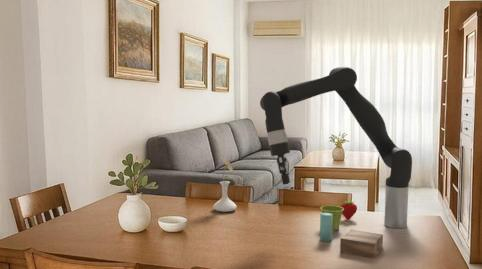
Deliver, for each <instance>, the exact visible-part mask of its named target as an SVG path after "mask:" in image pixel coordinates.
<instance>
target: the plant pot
mask: <svg viewBox="0 0 482 269" xmlns="http://www.w3.org/2000/svg"><path fill="white" fill-rule="evenodd" d="M320 210H321V213H330V214H332V215H333V218H332V232H333V231H334V232H335V231H337V230H338V231H339V229H340V225H341V219H342V216H343V214H342V212H343V210H344V209H343V208H342V207H340V206H338V205H323V206H320Z"/></svg>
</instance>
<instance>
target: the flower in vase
mask: <svg viewBox="0 0 482 269" xmlns="http://www.w3.org/2000/svg"><path fill="white" fill-rule="evenodd" d="M222 160H223V163H224V165H225V167H224V169H223V172H222V177H223V178H222V181H219V184H220V186H221V191H222V194H221V195H222V196H221V198H220V199H219V200H218V201H216V202H215V203H214V204H213V206H212V209H213V210H214V211H216V212H223V213H225V212H227V213H228V212H233V211H235V210H236V209H237V208H238V207H237V204H235V203H234V201H233V200H231V199H230V198H229V197H228V187H229V185H230V183H231V181H228V180H225V179H227V178H229V177H228V175H225V171H226V169H227V170H229V171H230V172H231V173H233V172H234V167H232V165H231V164H232V163H231V162H229V160H228V158H226V157H224V158H223V159H222Z"/></svg>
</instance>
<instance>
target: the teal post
mask: <svg viewBox="0 0 482 269" xmlns="http://www.w3.org/2000/svg"><path fill="white" fill-rule="evenodd" d="M332 218H333V215H332V214H330V213H322V212H321V213H320V218H319V219H320V220H319V240H320V241H321V242H325V243H328V242H329V243H330V242H332V241H333V231H332Z"/></svg>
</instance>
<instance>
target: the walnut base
mask: <svg viewBox="0 0 482 269" xmlns="http://www.w3.org/2000/svg"><path fill="white" fill-rule="evenodd" d="M383 237H384V234H383V233H375V232H369V231H363V230H356V229H349V231H347V232H346V233H345V234H343V235H342V236H341V237H340V242H339V244H340V245H339V247H340V248H339V249H340V250H339V252H340V253H345V254H350V255H355V256H362V257H367V258H371V259H372V258H373V259H374V258H375V257H376V256H377V255H378V254H379V253H380V251H381V250H382V249H383V240H384V238H383Z"/></svg>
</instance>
